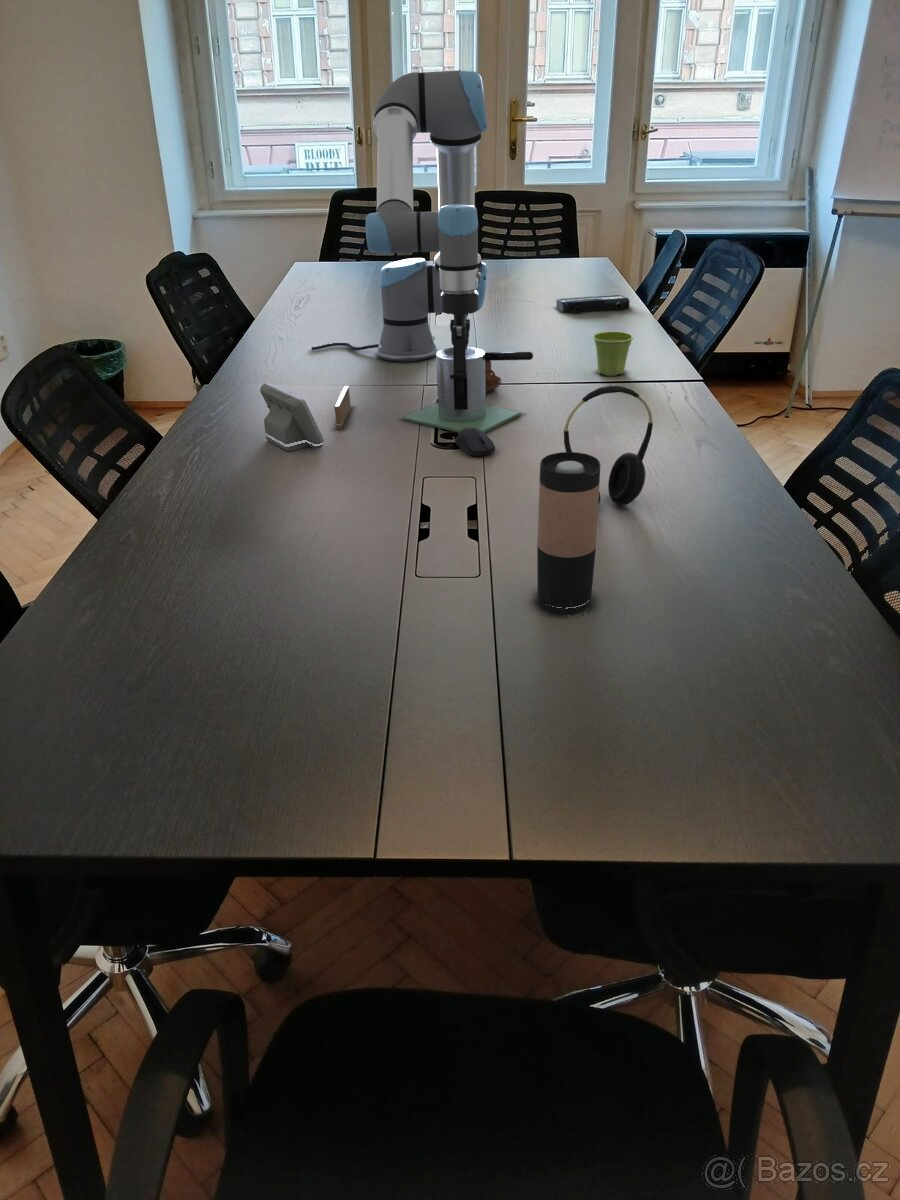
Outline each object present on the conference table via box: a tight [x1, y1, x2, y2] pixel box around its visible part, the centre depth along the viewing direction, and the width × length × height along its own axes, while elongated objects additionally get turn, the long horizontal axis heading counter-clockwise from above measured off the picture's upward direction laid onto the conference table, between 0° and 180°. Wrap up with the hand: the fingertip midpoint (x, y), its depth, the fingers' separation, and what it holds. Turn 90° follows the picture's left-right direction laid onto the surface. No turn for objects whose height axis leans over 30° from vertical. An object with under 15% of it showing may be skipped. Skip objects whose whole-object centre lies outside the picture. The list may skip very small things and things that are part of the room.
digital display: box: [555, 294, 631, 314], centre depth 272 cm, size 21×3×10 cm
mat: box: [403, 402, 521, 434], centre depth 187 cm, size 19×16×1 cm
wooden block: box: [334, 385, 351, 430], centre depth 187 cm, size 1×14×5 cm, turn 178°
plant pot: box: [592, 331, 634, 377], centre depth 210 cm, size 9×9×9 cm
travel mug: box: [536, 451, 601, 615], centre depth 114 cm, size 8×8×20 cm
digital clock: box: [259, 383, 325, 452], centre depth 174 cm, size 16×9×11 cm, turn 26°
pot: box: [435, 346, 534, 422], centre depth 182 cm, size 16×10×23 cm
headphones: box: [563, 385, 654, 506], centre depth 141 cm, size 9×15×20 cm, turn 101°
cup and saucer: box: [485, 361, 502, 393], centre depth 203 cm, size 12×12×6 cm
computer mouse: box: [455, 427, 496, 457], centre depth 169 cm, size 6×9×4 cm, turn 28°
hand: (461, 400), depth 185 cm, fingers closed on pot, 10 cm apart
